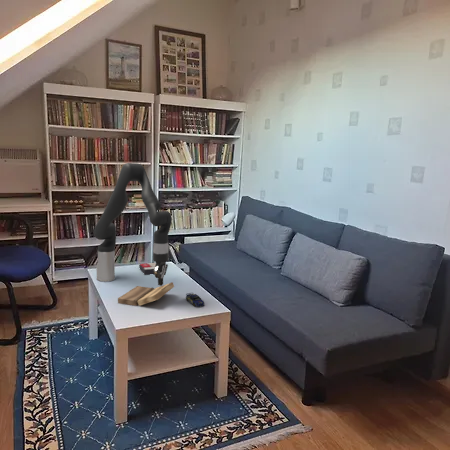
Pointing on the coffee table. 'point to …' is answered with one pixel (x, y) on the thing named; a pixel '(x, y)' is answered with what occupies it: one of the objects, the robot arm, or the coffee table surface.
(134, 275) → the coffee table surface
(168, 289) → the plank
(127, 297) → the floor board
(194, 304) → the race car
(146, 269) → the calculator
